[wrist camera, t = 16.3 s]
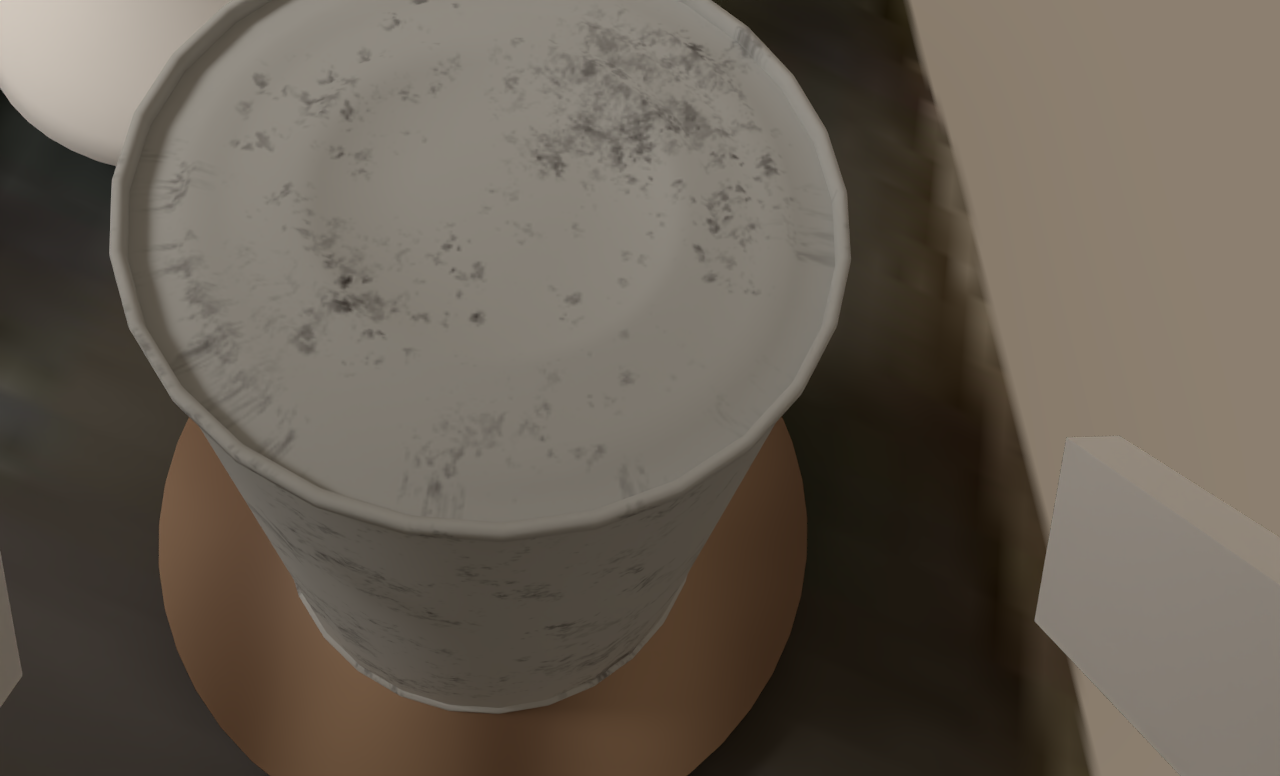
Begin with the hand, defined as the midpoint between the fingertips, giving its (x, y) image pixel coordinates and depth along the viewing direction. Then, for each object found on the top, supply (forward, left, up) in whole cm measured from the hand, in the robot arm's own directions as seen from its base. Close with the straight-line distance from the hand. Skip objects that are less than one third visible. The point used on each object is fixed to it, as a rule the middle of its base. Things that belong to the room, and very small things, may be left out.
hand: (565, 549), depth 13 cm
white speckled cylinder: (0, +5, -11) cm, 12 cm away
